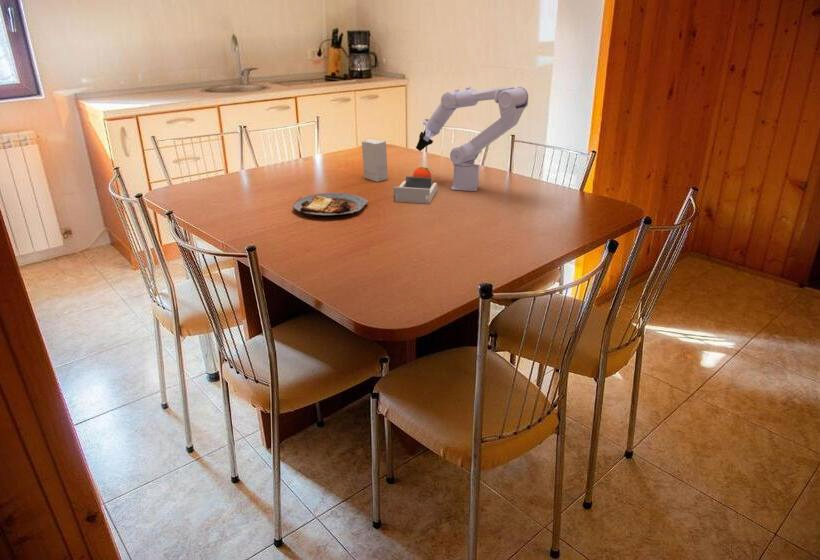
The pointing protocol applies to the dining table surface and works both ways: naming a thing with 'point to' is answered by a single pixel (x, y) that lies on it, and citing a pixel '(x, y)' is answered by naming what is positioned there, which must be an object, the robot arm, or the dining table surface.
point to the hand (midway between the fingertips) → (420, 144)
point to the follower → (418, 182)
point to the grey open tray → (414, 194)
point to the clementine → (422, 172)
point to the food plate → (320, 204)
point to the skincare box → (375, 160)
